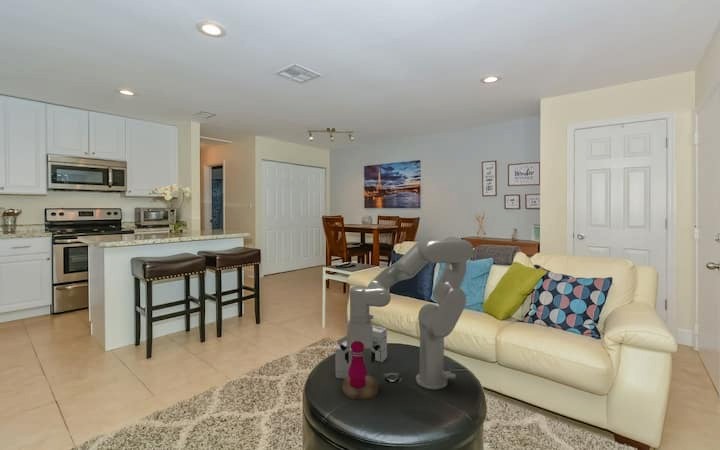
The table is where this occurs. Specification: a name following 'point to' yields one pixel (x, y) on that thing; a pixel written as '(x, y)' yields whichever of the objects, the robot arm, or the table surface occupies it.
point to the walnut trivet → (362, 392)
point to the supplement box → (342, 362)
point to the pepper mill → (357, 366)
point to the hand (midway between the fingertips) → (360, 361)
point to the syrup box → (382, 351)
